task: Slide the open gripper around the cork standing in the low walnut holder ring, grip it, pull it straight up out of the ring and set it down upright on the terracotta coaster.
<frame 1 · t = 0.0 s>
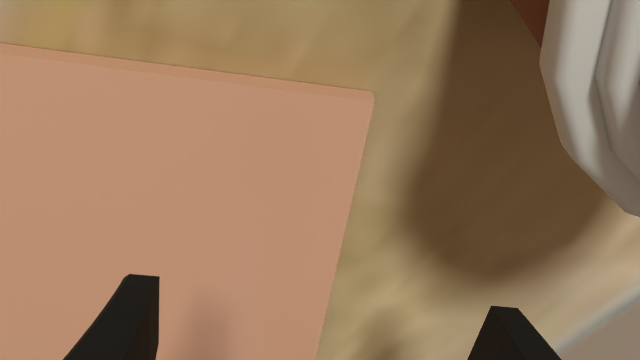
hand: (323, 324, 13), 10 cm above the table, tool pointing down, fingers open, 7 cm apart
coaster: (141, 243, 24), on the table
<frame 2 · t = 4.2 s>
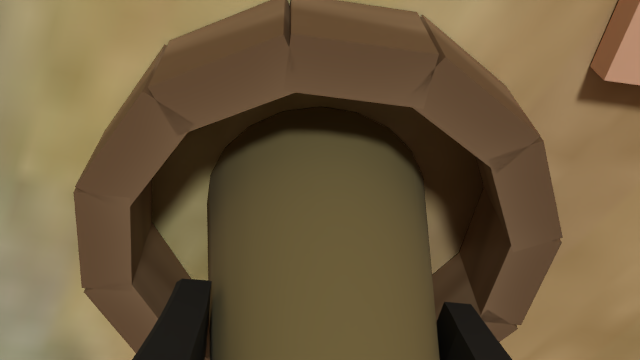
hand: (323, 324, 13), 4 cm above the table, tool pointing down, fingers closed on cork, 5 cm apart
cork: (316, 200, 17), resting in holder ring, touching gripper
holder ring: (316, 204, 17), on the table
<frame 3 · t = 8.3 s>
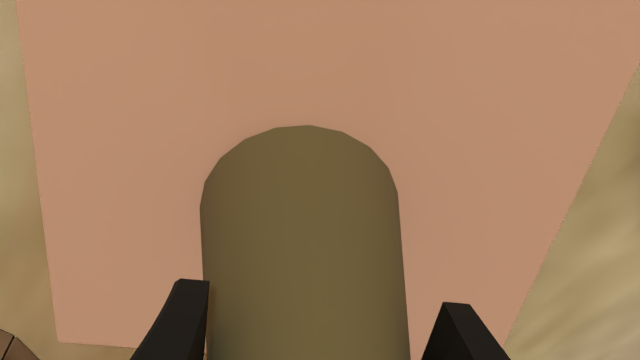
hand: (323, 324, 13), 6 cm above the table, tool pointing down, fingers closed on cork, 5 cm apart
cork: (299, 208, 18), point 1 cm above the table, touching coaster, gripper
coaster: (315, 165, 18), on the table
when the fingers open (6 cm above the table, at t = 8.7 s): cork stays where it is, resting on coaster.
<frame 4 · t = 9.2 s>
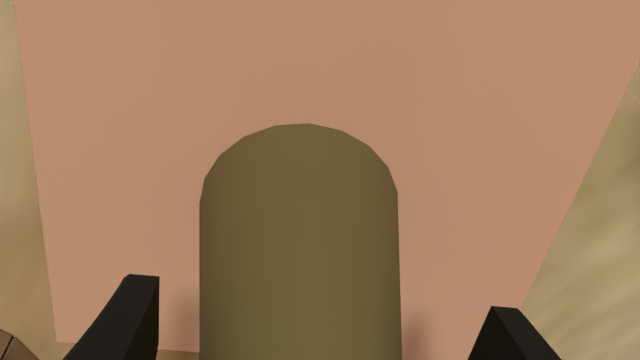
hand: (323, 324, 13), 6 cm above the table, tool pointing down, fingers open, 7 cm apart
cork: (299, 206, 18), point 1 cm above the table, touching coaster
coaster: (314, 165, 18), on the table
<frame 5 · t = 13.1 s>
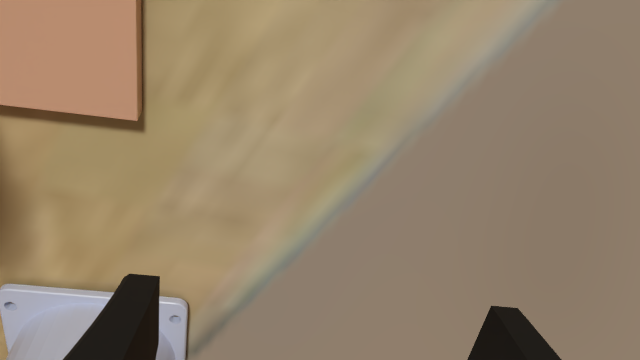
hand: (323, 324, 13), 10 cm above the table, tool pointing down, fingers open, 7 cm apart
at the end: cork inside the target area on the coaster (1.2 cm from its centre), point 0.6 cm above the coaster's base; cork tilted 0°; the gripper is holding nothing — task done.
